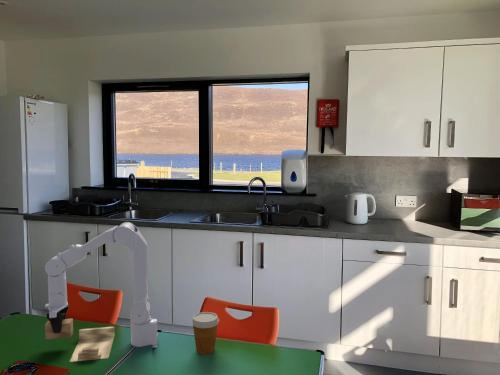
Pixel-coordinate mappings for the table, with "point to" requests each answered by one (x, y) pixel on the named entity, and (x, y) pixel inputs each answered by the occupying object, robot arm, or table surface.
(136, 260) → the robot arm
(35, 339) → the table surface
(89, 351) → the offcut stack
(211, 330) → the disposable coffee cup
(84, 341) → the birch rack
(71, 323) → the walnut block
